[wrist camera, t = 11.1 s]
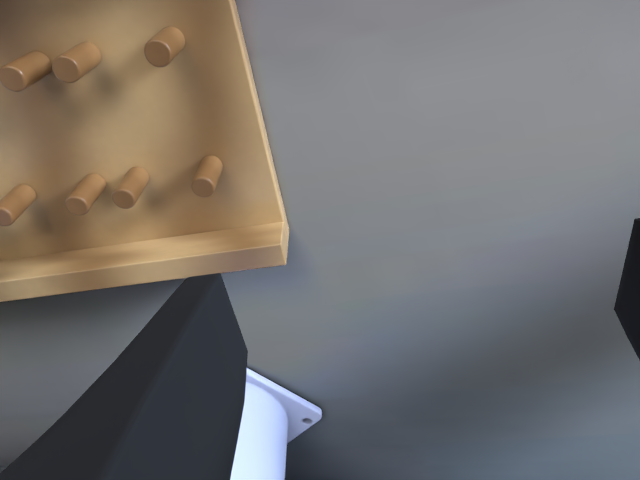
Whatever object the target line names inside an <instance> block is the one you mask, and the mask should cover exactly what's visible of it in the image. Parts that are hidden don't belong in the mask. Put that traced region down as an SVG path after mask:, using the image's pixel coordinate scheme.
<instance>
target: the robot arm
mask: <svg viewBox="0 0 640 480" xmlns="http://www.w3.org/2000/svg"><path fill="white" fill-rule="evenodd" d="M614 310H615V312H616V314H617V316H618V318H619V320H620V323H621V325H622V327H623V329H624V331H625V333H626V335H627V337H628V339H629V341H630V343H631V345H632V346H633V348H634V350H635V352H636V354H637V356H638V358H639V360H640V218H638V219H635V220H634V224H633V229H632V233H631V237H630V242H629V246H628V250H627V255H626V259H625V263H624V268H623V272H622V277H621V281H620V285H619V290H618V294H617V298H616V303H615V307H614ZM247 353H248V351H247V348H246V345H245V342H244V339H243V337H242V334H241V331H240V328H239V325H238V322H237V319H236V317H235V314H234V311H233V308H232V305H231V302H230V300H229V297H228V294H227V291H226V288H225V285H224V282H223V280H222V277H221V274H220V273H215V274H207V275H199V276H192V277H188V278H187V279H186V280H185V281H184V282H183V283H182V284H181V285H180V286H179V287H178V288H177V290H176V291H175V292H174V293H173V294H172V295H171V297H170V298H169V299H168V300H167V301H166V302H165V304H164V305H163V306H162V307H161V308H160V309H159V311H158V312H157V313H156V314H155V315H154V316H153V318H152V319H151V320H150V321H149V322H148V323H147V325H146V326H145V327H144V328H143V329H142V330H141V332H140V333H139V334H138V335H137V336H136V337H135V338H134V340H133V341H132V342H131V343H130V344H129V345H128V346H127V347H126V349H125V350H124V351H123V352H122V353H121V354H120V355H119V357H118V358H117V359H116V360H115V361H114V362H113V363H112V364H111V365H110V366H109V368H108V369H107V370H106V371H105V372H104V373H103V374H102V375H101V376H100V377H99V378H98V379H97V380H96V381H95V382H94V383H93V384H92V385H91V386H90V387H89V389H88V390H87V391H86V392H85V393H84V394H83V395H82V396H81V397H80V398H79V399H78V400H77V401H76V402H75V403H74V404H73V405H72V406H71V407H70V408H69V409H68V411H67V412H66V413H65V414H64V415H63V416H62V417H61V418H60V419H59V420H57V421H56V422H55V423H54V424H53V425H52V426H51V427H50V428H49V429H48V430H47V431H46V432H45V433H44V434H43V435H42V436H41V437H40V438H39V439H38V440H37V441H36V442H35V443H33V444H32V445H31V446H30V447H29V448H28V449H27V450H26V451H25V452H23V453H22V454H21V455H20V456H19V457H18V458H17V459H16V460H15V461H14V462H12V463H11V464H10V465H9V466H8V467H7V468H6V469H5V470H4V471H3V472H1V473H0V480H285V466H286V450H287V443H288V442H290V441H291V440H293V439H294V438H295V437H297V436H298V435H300V434H301V433H302V432H304V431H305V430H306V429H308V428H309V427H311V426H312V425H313V424H315V423H316V422H318V421H319V420H320V419H321V418H322V410H321V409H320V408H319V407H317V406H316V405H314V404H312V403H310V402H308V401H307V400H305V399H303V398H301V397H299V396H297V395H296V394H294V393H292V392H290V391H288V390H286V389H285V388H283V387H281V386H279V385H277V384H275V383H274V382H272V381H270V380H268V379H266V378H265V377H263V376H261V375H259V374H257V373H255V372H254V371H252V370H250V369H248V368H247Z"/></svg>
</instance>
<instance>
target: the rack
mask: <svg viewBox="0 0 640 480" xmlns="http://www.w3.org/2000/svg"><path fill="white" fill-rule="evenodd" d="M288 239H289V226H288V222H287V218H286V214H285V210H284V205H283V201H282V197H281V193H280V188H279V184H278V180H277V176H276V171H275V167H274V163H273V159H272V155H271V150H270V146H269V142H268V138H267V133H266V129H265V125H264V121H263V116H262V112H261V108H260V104H259V100H258V95H257V91H256V87H255V83H254V78H253V74H252V70H251V66H250V62H249V57H248V53H247V49H246V45H245V40H244V36H243V32H242V28H241V23H240V19H239V15H238V11H237V7H236V2H235V0H0V302H4V301H12V300H20V299H28V298H35V297H43V296H51V295H58V294H66V293H74V292H81V291H89V290H97V289H104V288H112V287H120V286H128V285H135V284H143V283H151V282H158V281H166V280H174V279H181V278H188V277H192V276H199V275H207V274H215V273H228V272H235V271H243V270H251V269H258V268H266V267H274V266H281V265H286V262H287V251H288Z"/></svg>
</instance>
